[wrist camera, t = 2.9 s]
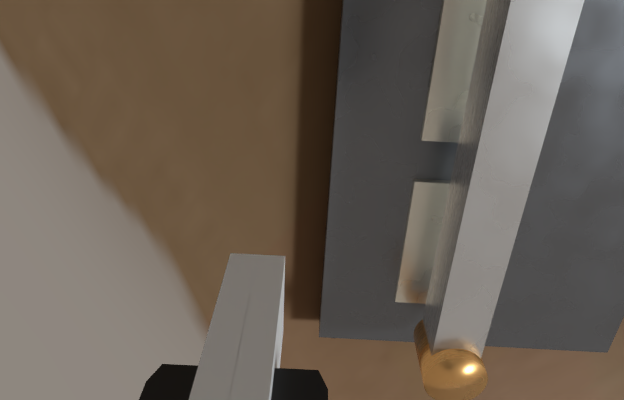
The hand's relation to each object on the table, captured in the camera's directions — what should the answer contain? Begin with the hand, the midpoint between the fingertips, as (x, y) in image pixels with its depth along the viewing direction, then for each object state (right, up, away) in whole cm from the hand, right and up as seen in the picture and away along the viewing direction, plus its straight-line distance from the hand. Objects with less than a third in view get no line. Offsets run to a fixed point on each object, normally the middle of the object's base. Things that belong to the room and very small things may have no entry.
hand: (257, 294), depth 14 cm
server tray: (+11, +5, +10) cm, 15 cm away
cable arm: (+8, +4, +6) cm, 11 cm away
